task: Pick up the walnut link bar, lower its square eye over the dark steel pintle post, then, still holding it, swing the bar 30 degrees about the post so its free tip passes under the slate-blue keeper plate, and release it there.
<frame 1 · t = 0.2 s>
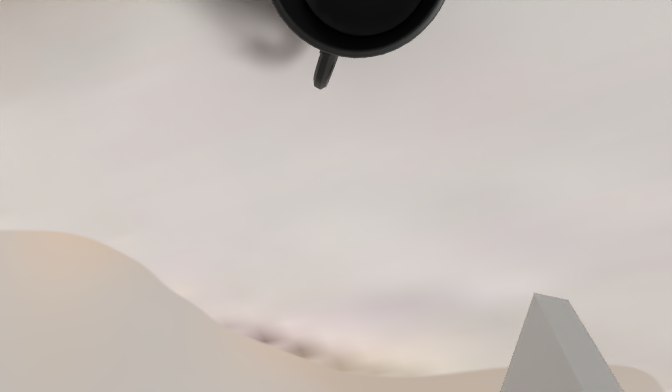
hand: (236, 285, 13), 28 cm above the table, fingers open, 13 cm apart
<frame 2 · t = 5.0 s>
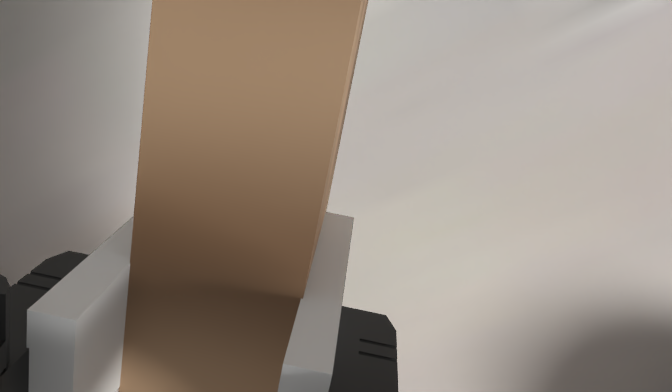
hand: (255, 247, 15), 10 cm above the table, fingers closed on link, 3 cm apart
when the fingers open (2 cm above the table, at t = 10.2 s): link stays where it is, on the table.
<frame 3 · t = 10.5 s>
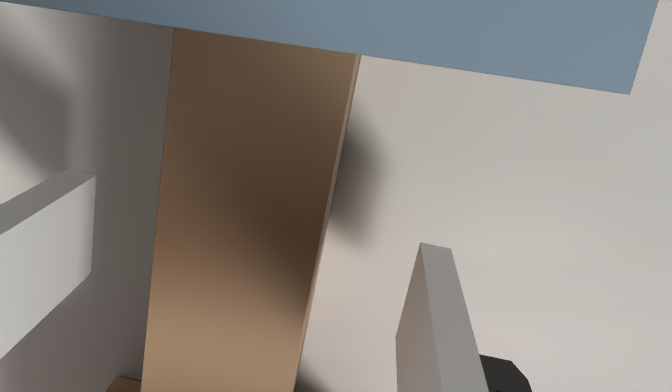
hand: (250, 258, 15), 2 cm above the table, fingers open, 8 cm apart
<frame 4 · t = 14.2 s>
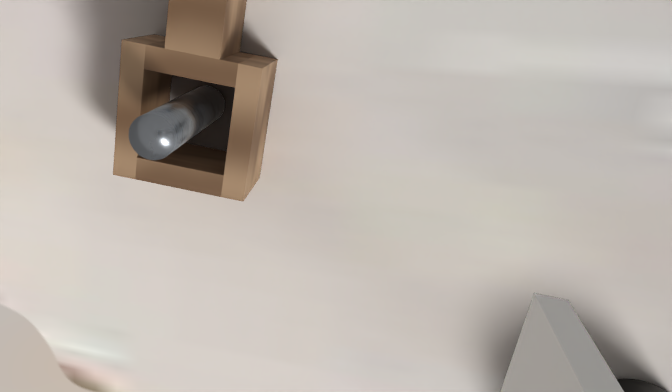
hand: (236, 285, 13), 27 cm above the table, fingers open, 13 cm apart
pintle: (207, 103, 39), on the table
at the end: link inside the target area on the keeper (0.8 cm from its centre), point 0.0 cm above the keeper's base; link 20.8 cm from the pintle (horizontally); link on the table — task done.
